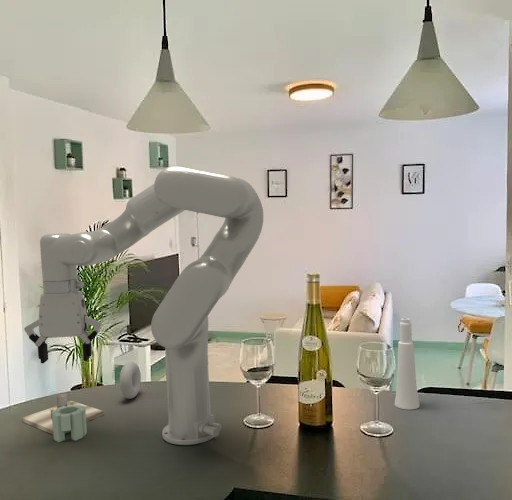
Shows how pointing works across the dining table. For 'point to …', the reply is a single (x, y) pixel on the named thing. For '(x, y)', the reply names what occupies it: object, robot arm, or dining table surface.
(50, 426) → the post base
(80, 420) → the collar
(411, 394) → the cosmetic bottle
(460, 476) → the dining table surface
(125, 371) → the donut
